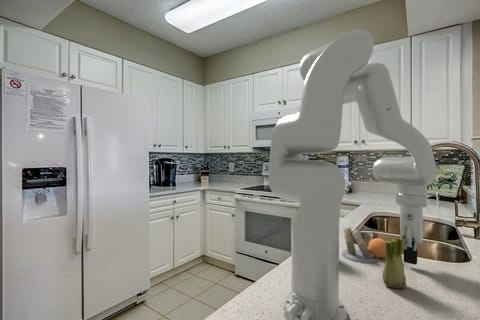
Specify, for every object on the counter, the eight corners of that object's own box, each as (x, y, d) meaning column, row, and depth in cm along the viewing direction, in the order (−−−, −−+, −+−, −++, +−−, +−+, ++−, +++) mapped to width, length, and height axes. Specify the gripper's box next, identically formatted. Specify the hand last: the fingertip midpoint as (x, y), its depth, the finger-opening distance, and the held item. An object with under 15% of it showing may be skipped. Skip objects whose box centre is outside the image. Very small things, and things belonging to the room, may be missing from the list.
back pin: (354, 255, 81) (349, 229, 81) (347, 254, 82) (342, 229, 83) (356, 252, 83) (351, 227, 83) (349, 251, 84) (344, 227, 84)
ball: (362, 240, 82) (369, 259, 78) (379, 234, 78) (388, 254, 75) (370, 242, 85) (377, 260, 82) (387, 237, 82) (396, 255, 78)
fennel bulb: (387, 290, 60) (387, 241, 60) (376, 280, 65) (377, 235, 65) (411, 291, 60) (412, 241, 60) (399, 281, 65) (399, 235, 65)
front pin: (370, 257, 78) (357, 231, 79) (363, 258, 79) (350, 233, 81) (372, 253, 80) (359, 228, 81) (365, 255, 81) (352, 230, 83)
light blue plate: (375, 266, 73) (375, 265, 73) (337, 257, 80) (337, 256, 80) (382, 254, 82) (382, 254, 82) (347, 247, 89) (347, 246, 89)
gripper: (426, 205, 64) (425, 276, 64) (427, 198, 76) (427, 257, 76) (392, 202, 69) (391, 268, 69) (398, 195, 81) (398, 251, 81)
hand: (410, 262), depth 73 cm, fingers closed
